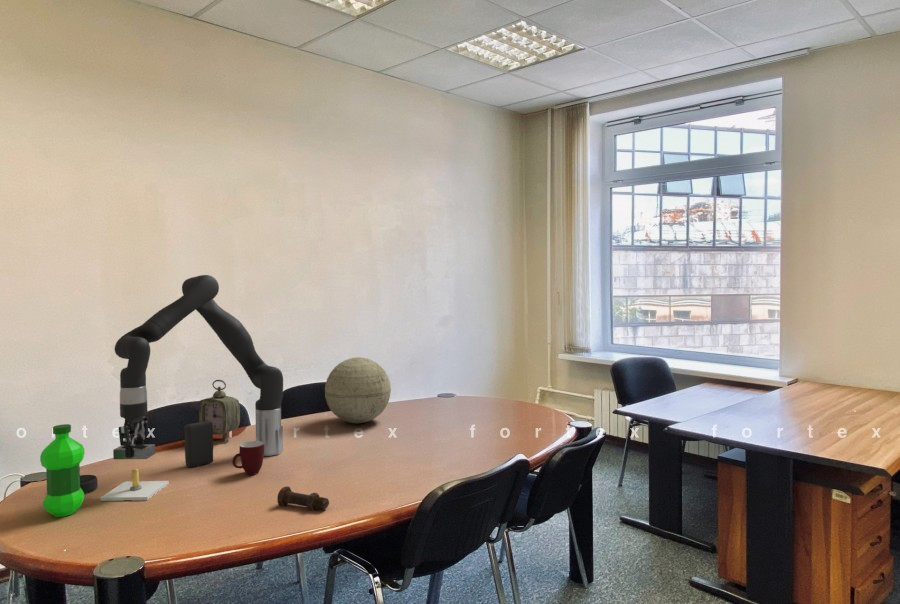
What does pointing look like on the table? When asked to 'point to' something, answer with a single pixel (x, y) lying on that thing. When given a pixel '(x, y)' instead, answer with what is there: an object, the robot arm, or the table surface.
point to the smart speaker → (88, 483)
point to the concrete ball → (357, 390)
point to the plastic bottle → (62, 473)
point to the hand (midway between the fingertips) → (134, 454)
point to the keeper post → (134, 489)
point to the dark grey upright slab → (198, 443)
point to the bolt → (301, 499)
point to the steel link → (135, 452)
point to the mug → (250, 456)
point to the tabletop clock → (220, 412)
